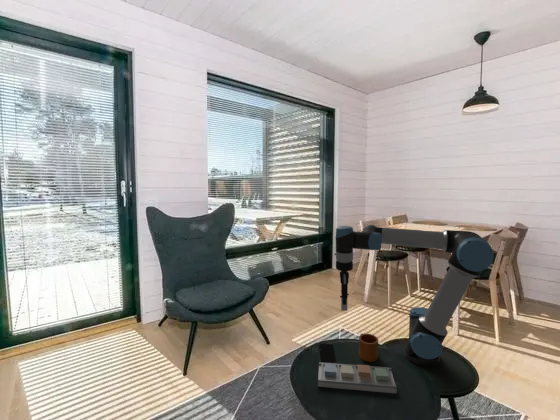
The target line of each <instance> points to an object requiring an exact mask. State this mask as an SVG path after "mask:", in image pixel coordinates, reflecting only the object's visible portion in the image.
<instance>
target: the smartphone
mask: <svg viewBox="0 0 560 420" xmlns="http://www.w3.org/2000/svg"><path fill="white" fill-rule="evenodd" d="M319 344H320V345H319ZM319 344H318V352H320V353H319V361H320V360H321V361H320V362H322V363H335V364H337V359H336V354H335V350H334V345H333V343H319ZM320 349H321V350H320Z"/></svg>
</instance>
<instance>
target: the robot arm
mask: <svg viewBox="0 0 560 420" xmlns="http://www.w3.org/2000/svg"><path fill="white" fill-rule="evenodd" d="M382 244H384V245H392V246H393V245H395V246H403V247H413V248H421V249H422V248H424V249H431V250H432V249H436V250H441V251H442V252H443V253H449V254H450V253H451V255H450V257H449V258H448V261H447V263H448V265H449V268H448V270H447V272H446V274H445V276H444V277H443V279H442V281H441V283H440V285H439V287H438V289H437V290H436V293H435V295H434V297H433V299H432V300H431V303H429V306H428V308H427V307H419V306H418V307H412V308H411V309H410V310H409V313H408V315H409V319H408V321H409V322H408V323H409V325H408V329H409V330H408V340H407V342H406V344H405V346H404V352H403V353H404V356H405V358H406V359H407V360H409V361H410V362H412V363H413V364H416V365H419V366H423V367H435V366H437V365H438V364H440V361H441V355H442V352H443V343H444V340H445V339H446V337H447V335H448V329H447V326H448V325H449V322H450V320H451V319H452V317H453V315H454V313H455V311H456V310H457V307H458V306H459V304H460V302H461V301H462V299H463V297H464V296H465V293H466V291H467V290H468V288H469V286H470V284H471V282H472V281H473V279H475V278H478V277H480V276H481V274H482V273H483V271H484V270H486V269H488V268H489V267H490V266H491V265H492V263H493V262H494V256H495V255H494V251H493V249H492V246H491V244H489V243H488V241H486V240H485V239H483V237H482V236H481V235H480V234H478V233H476V232H472V231H469V230H452V229H451V230H450V229H449V230H447V229H444V230H443V231H435V230H434V231H432V230H420V229H419V230H418V229H409V228H408V229H407V228H395V227H394V228H393V227H380V226H375V225H374V224H369V225H367V226H365V227H364V228H363V229H362V231H356V230H354V228H353V226H350V225H340V226H337V227H336V229H335V253H334V256H335V270H338V271H339V281H340V286H341V288H340V289H341V290H340V294H341V295H339V298H341V299H340V300H341V301H340V305H341V306H340V307H341V309H340V310H341V312H343V311H344V312H346V311H348V298H349V296H350V295H349V293H348V290H349V289H348V286H349V279H350V274H349V272H350V271H352V270H353V269H354V262H353V260H354V249H355V250H369V251H380V250H381V249H382Z"/></svg>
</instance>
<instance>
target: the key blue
mask: <svg viewBox="0 0 560 420" xmlns="http://www.w3.org/2000/svg"><path fill="white" fill-rule="evenodd" d="M324 373H325V376H336V365H331V364H325V371H324Z"/></svg>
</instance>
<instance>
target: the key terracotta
mask: <svg viewBox="0 0 560 420" xmlns="http://www.w3.org/2000/svg"><path fill="white" fill-rule="evenodd" d="M357 365H358V376H361V377H371V372H370V367H369V366H370V365H369V364H357Z"/></svg>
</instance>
